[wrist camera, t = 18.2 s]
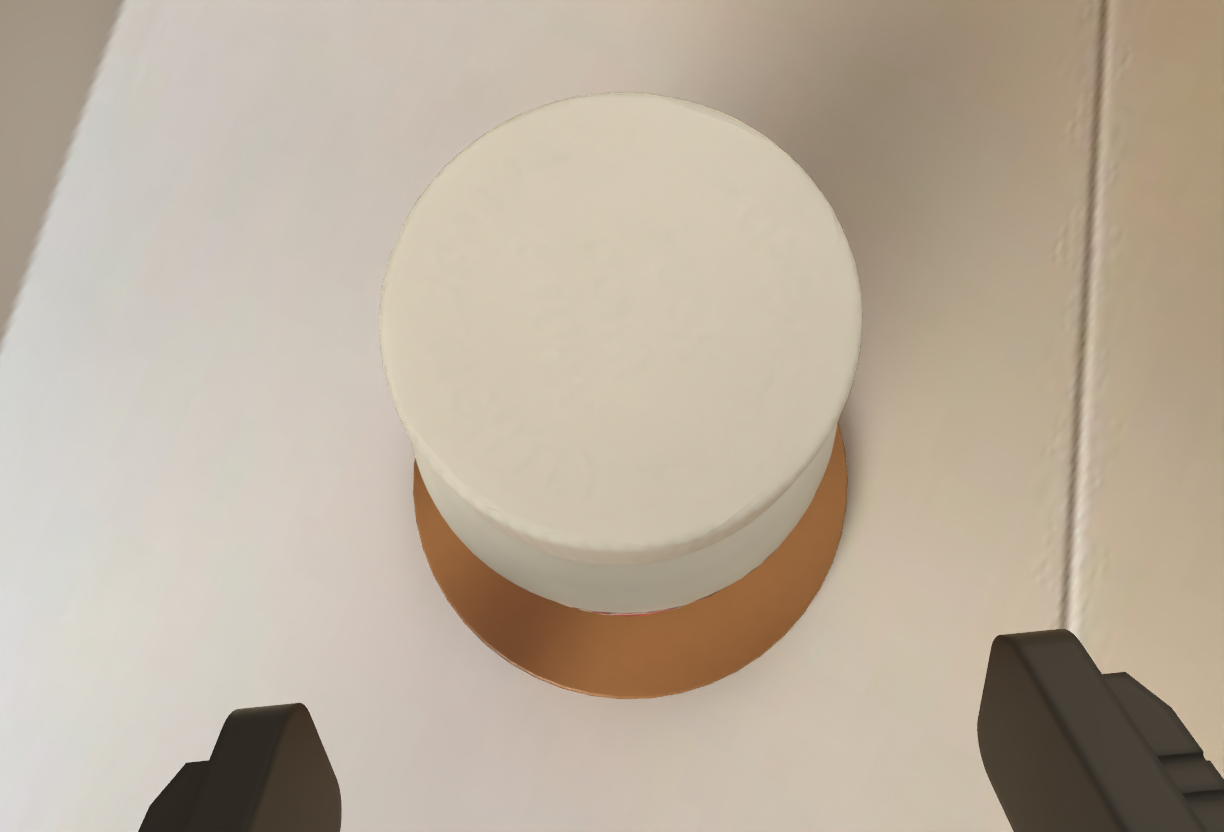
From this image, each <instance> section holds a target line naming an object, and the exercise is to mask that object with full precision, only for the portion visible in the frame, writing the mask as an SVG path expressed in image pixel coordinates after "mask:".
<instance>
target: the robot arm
mask: <svg viewBox="0 0 1224 832" xmlns="http://www.w3.org/2000/svg"><path fill="white" fill-rule="evenodd" d="M977 732H978V742H979V748H980V753H981V757H982V760H983V764H984V767H985V770H986V773H987V775H988V777H989V780H990V782H991V784H992V786H993V788H994V790H995V793H996V795H997V797H998V799H999V801H1000V803H1001V805H1002V807H1003V810H1004V812H1005V814H1006V816H1007V818H1008V820H1009V822H1010V825H1011V827H1012V829H1013V831H1014V832H1224V779H1223V778H1222V777H1221V775H1220V774H1219V772H1218V771H1217V770H1216V768H1215V767H1214V766H1213V764H1212V763H1211V761H1206V760H1205V758H1204V756H1203V750H1202V749H1201V748H1200V746H1199V745H1198V744H1197V742H1196V741H1195V739H1194V738H1193V737H1192V735H1191V734H1190V733H1189V731H1188V730H1187V728H1186V727H1185V726H1184V724H1183V723H1182V722H1181V720H1180V719H1179V717H1178V716H1177V715H1176V713H1175V712H1174V711H1173V709H1172V708H1171V707H1170V706H1169V705H1167V704H1166V703H1165V702H1163V701H1162V700H1161V699H1160V698H1158V697H1157V696H1156V695H1154V694H1153V693H1152V692H1151V691H1149V690H1148V689H1147V688H1145V687H1144V686H1143V685H1141V684H1140V683H1139V682H1138V681H1136V680H1135V679H1134V678H1132V677H1131V676H1130V675H1129V674H1127V673H1126V672H1121V673H1111V674H1101V672H1100V671H1099V669H1098V668H1097V666H1096V665H1095V663H1094V662H1093V660H1092V659H1091V657H1090V656H1089V654H1088V653H1087V651H1086V650H1085V648H1084V647H1083V645H1082V644H1081V643H1080V641H1079V640H1078V639H1077V637H1076V636H1075V635H1074V634H1073V633H1071V632H1070V631H1068V630H1066V629H1056V630H1046V631H1036V632H1026V633H1016V634H1007V635H999V636H997V637H996V638H995V639H994V641H993V643H992V647H991V652H990V657H989V663H988V668H987V673H986V679H985V684H984V689H983V695H982V700H981V705H980V711H979V716H978V723H977ZM340 828H341V795H340V789H339V785H338V781H337V779H336V776H335V774H334V771H333V769H332V766H331V764H330V762H329V759H328V757H327V754H326V752H325V749H324V747H323V745H322V742H321V740H320V737H319V735H318V732H317V730H316V728H315V725H314V723H313V720H312V718H311V715H310V713H309V711H308V709H307V708H306V706H305V705H303V704H302V703H294V704H284V705H274V706H264V707H254V708H244V709H237V710H235V711H233V712H232V713H231V714H230V715H229V716H228V718H227V719H226V721H225V723H224V725H223V727H222V730H221V732H220V735H219V737H218V740H217V742H216V745H215V747H214V750H213V752H212V755H211V757H210V760H209V761H200V762H190V763H186V764H185V765H184V766H183V767H182V769H181V770H180V771H179V772H178V773H177V775H176V776H175V777H174V778H173V779H172V780H171V782H170V783H169V784H168V785H167V786H166V787H165V789H164V790H163V791H162V792H161V793H160V795H159V796H158V797H157V798H156V799H155V800H154V802H153V803H152V804H151V805H150V807H149V809H148V811H147V813H146V816H145V818H144V820H143V822H142V824H141V827H140V829H139V831H138V832H340Z"/></svg>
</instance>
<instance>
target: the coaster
mask: <svg viewBox="0 0 1224 832" xmlns="http://www.w3.org/2000/svg"><path fill="white" fill-rule="evenodd" d="M847 480H848V478H847V467H846V456H845V449H844V444H843V440H842V435H841V431H840V426H839V423H838V422H837V429H836V434H835V440H834V444H833V449H832V453H831V456H830V460H829V463H828V465H827V468H826V471H825V473H824V476H823V478H822V480H821V482H820V485H819V487H818V489H817V491H816V493H815V495H814V498H813V500H812V502H811V503H810V505H809V507H808V508H807V510H806V511H805V513H804V514H803V516H802V517H801V519H800V521H799V522H798V524H797V525H796V526H795V527H794V528H793V530H792V531H791V532H790V533H789V535H788V536H787V537H786V538H785V540H784V541H783V542H782V544H781V545H780V546H779V548H778V549H777V550H776V551H775V552H774V553H772V554H771V555H770V556H769V557H768V558H767V559H766V560H765V561H764V562H763V563H762V564H761V565H760V566H758V567H757V568H756V569H754V570H753V571H752V572H750V573H749V574H748V575H746V576H745V577H743V578H742V579H740V580H738V581H736V582H734V583H733V584H731V585H729V586H727V587H725V588H724V589H722V590H720V591H718V592H717V593H715V594H713V595H711V596H709V597H706V598H703V599H700V600H697V601H694V602H692V603H689V604H687V605H684V606H682V607H679V608H676V609H672V610H669V611H666V612H661V613H657V614H651V615H643V616H629V617H625V616H613V615H603V614H598V613H593V612H589V611H584V610H580V609H577V608H571V607H568V606H565V605H562V604H560V603H558V602H555V601H553V600H549V599H546V598H544V597H541V596H539V595H536V594H534V593H532V592H529V591H528V590H526V589H524V588H522V587H520V586H518V585H516V584H514V583H513V582H511V581H509V580H508V579H506V578H505V577H503V576H501V575H500V574H498V573H497V572H495V571H494V570H493V569H491V568H490V567H489V566H487V565H486V564H485V563H484V562H483V561H481V560H480V559H479V558H478V557H477V556H475V555H474V554H473V553H472V552H471V551H470V550H469V549H468V548H467V547H466V545H465V544H464V543H463V542H462V541H461V540H460V539H459V538H458V536H457V535H456V534H455V533H454V532H453V531H452V529H451V528H450V527H449V525H448V524H447V522H446V521H445V520H444V518H443V517H442V515H441V514H440V512H439V510H438V509H437V507H436V505H435V504H434V502H433V500H432V498H431V496H430V494H429V492H428V491H427V488H426V486H425V484H424V481H423V479H422V476H421V474H420V471H419V468H418V465H417V462H416V458H415V462H414V485H413V495H414V504H415V513H416V522H417V526H418V530H419V534H420V538H421V542H422V546H423V550H424V552H425V555H426V557H427V560H428V562H429V565H430V568H431V570H432V573H433V575H434V577H435V579H436V581H437V582H438V584H439V586H440V588H441V590H442V591H443V593H444V595H445V597H446V599H447V600H448V602H449V603H450V604H451V606H452V607H453V608H454V610H455V611H456V612H457V614H458V615H459V616H460V618H461V619H462V620H463V622H464V623H465V624H466V625H467V626H468V627H469V628H470V629H471V630H472V631H473V632H474V633H475V634H476V635H477V636H478V637H479V638H480V639H481V640H482V641H483V642H484V643H485V644H486V645H487V646H488V647H489V648H491V649H492V650H493V651H495V652H496V653H497V654H498V655H500V656H501V657H502V658H504V659H505V660H506V661H508V662H509V663H511V664H512V665H514V666H516V667H518V668H519V669H521V670H523V671H525V672H526V673H528V674H530V675H532V676H533V677H535V678H538V679H540V680H543V681H545V682H548V683H550V684H553V685H555V686H558V687H560V688H563V689H567V690H571V691H575V692H579V693H583V694H587V695H591V696H599V697H608V698H617V699H638V698H655V697H661V696H667V695H673V694H679V693H683V692H686V691H690V690H693V689H696V688H699V687H702V686H706V685H709V684H711V683H713V682H715V681H718V680H720V679H722V678H724V677H726V676H728V675H730V674H733V673H735V672H737V671H738V670H740V669H741V668H743V667H744V666H746V665H748V664H749V663H751V662H752V661H754V660H755V659H757V658H758V657H760V656H761V655H763V654H764V653H765V652H766V651H767V650H768V649H770V648H771V647H772V646H773V645H774V644H775V643H776V642H778V641H779V640H780V639H781V638H782V637H783V636H784V635H785V634H786V633H787V632H788V631H789V630H790V629H791V627H792V626H793V625H794V624H795V623H796V622H797V621H798V620H799V618H800V617H801V616H802V615H803V614H804V612H805V611H806V609H807V608H808V606H809V605H810V603H811V602H812V600H813V599H814V597H815V596H816V594H817V593H818V591H819V590H820V588H821V586H822V584H823V581H824V579H825V577H826V575H827V573H828V571H829V569H830V567H831V565H832V563H833V560H834V556H835V553H836V550H837V547H838V544H839V541H840V538H841V534H842V529H843V523H844V517H845V512H846V503H847Z"/></svg>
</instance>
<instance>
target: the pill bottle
mask: <svg viewBox="0 0 1224 832" xmlns="http://www.w3.org/2000/svg"><path fill="white" fill-rule="evenodd" d="M861 333H862V299H861V290H860V282H859V277H858V273H857V269H856V265H855V261H854V258H853V255H852V252H851V249H850V246H849V244H848V241H847V239H846V236H845V234H844V231H843V229H842V227H841V225H840V223H839V221H838V219H837V217H836V215H835V213H834V211H833V209H832V207H831V206H830V204H829V203H828V201H827V200H826V198H825V196H824V195H823V194H822V193H821V191H820V190H819V189H818V187H817V186H816V185H815V183H814V182H813V180H812V179H811V178H810V177H809V176H808V174H807V173H806V172H805V171H804V170H803V169H802V168H801V167H800V166H799V165H798V164H797V163H796V162H795V161H794V160H793V159H792V158H791V157H790V156H789V155H788V154H787V153H785V152H784V151H783V150H782V149H781V148H780V147H778V146H777V145H776V144H775V143H774V142H772V141H771V140H770V139H769V138H767V137H766V136H764V135H763V134H761V133H759V132H758V131H756V130H755V129H753V128H752V127H750V126H748V125H747V124H745V123H743V122H742V121H740V120H738V119H736V118H734V117H731V116H729V115H727V114H725V113H722V112H720V111H717V110H714V109H712V108H709V107H706V106H703V105H700V104H697V103H694V102H690V101H686V100H682V99H678V98H673V97H666V96H661V95H655V94H646V93H601V94H593V95H585V96H577V97H572V98H569V99H565V100H561V101H556V102H553V103H550V104H546V105H543V106H541V107H538V108H536V109H533V110H530V111H528V112H525V113H522V114H520V115H518V116H516V117H514V118H512V119H510V120H508V121H506V122H504V123H502V124H501V125H499V126H497V127H496V128H494V129H492V130H491V131H489V132H487V133H486V134H484V135H483V136H482V137H480V138H479V139H477V140H476V141H474V142H473V143H472V144H470V145H469V146H468V147H467V148H466V149H465V150H463V151H462V152H461V153H459V154H458V155H457V156H456V157H455V158H453V159H452V160H451V161H450V162H449V163H448V164H447V165H446V166H445V167H443V169H442V170H441V171H440V172H439V174H438V175H437V176H436V177H435V179H434V180H433V181H432V182H431V183H430V184H429V185H428V187H427V188H426V189H425V191H424V192H423V193H422V195H421V196H420V197H419V198H418V200H417V202H416V203H415V205H414V207H413V209H412V210H411V212H410V214H409V216H408V218H407V219H406V221H405V223H404V225H403V227H402V229H401V231H400V234H399V236H398V238H397V241H396V243H395V245H394V248H393V250H392V253H391V256H390V259H389V262H388V265H387V269H386V273H385V278H384V282H383V286H382V294H381V303H380V319H379V336H380V348H381V356H382V364H383V367H384V371H385V375H386V379H387V383H388V386H389V389H390V393H391V396H392V399H393V402H394V404H395V407H396V409H397V412H398V414H399V416H400V419H401V421H402V423H403V425H404V427H405V429H406V431H407V433H408V435H409V437H410V438H411V442H412V447H413V451H414V454H415V458H416V462H417V465H418V468H419V471H420V474H421V476H422V479H423V481H424V484H425V486H426V488H427V491H428V492H429V494H430V496H431V498H432V500H433V502H434V504H435V505H436V507H437V509H438V510H439V512H440V514H441V515H442V517H443V518H444V520H445V521H446V522H447V524H448V525H449V527H450V528H451V529H452V531H453V532H454V533H455V534H456V535H457V536H458V538H459V539H460V540H461V541H462V542H463V543H464V544H465V545H466V547H467V548H468V549H469V550H470V551H471V552H472V553H473V554H474V555H475V556H477V557H478V558H479V559H480V560H481V561H483V562H484V563H485V564H486V565H487V566H489V567H490V568H491V569H493V570H494V571H495V572H497V573H498V574H500V575H501V576H503V577H505V578H506V579H508V580H509V581H511V582H513V583H514V584H516V585H518V586H520V587H522V588H524V589H526V590H528V591H529V592H532V593H534V594H536V595H539V596H541V597H544V598H546V599H549V600H553V601H555V602H558V603H560V604H562V605H565V606H568V607H571V608H577V609H580V610H584V611H589V612H593V613H598V614H603V615H613V616H625V617H629V616H643V615H651V614H657V613H661V612H666V611H669V610H672V609H676V608H679V607H682V606H684V605H687V604H689V603H692V602H694V601H697V600H700V599H703V598H706V597H709V596H711V595H713V594H715V593H717V592H718V591H720V590H722V589H724V588H725V587H727V586H729V585H731V584H733V583H734V582H736V581H738V580H740V579H742V578H743V577H745V576H746V575H748V574H749V573H750V572H752V571H753V570H754V569H756V568H757V567H758V566H760V565H761V564H762V563H763V562H764V561H765V560H766V559H767V558H768V557H769V556H770V555H771V554H772V553H774V552H775V551H776V550H777V549H778V548H779V546H780V545H781V544H782V542H783V541H784V540H785V538H786V537H787V536H788V535H789V533H790V532H791V531H792V530H793V528H794V527H795V526H796V525H797V524H798V522H799V521H800V519H801V517H802V516H803V514H804V513H805V511H806V510H807V508H808V507H809V505H810V503H811V502H812V500H813V498H814V495H815V493H816V491H817V489H818V487H819V485H820V482H821V480H822V478H823V476H824V473H825V471H826V468H827V465H828V463H829V460H830V456H831V453H832V449H833V444H834V440H835V434H836V429H837V422H838V419H839V417H840V415H841V413H842V411H843V408H844V406H845V404H846V401H847V399H848V396H849V393H850V391H851V388H852V385H853V381H854V377H855V373H856V369H857V365H858V359H859V354H860V348H861Z"/></svg>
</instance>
